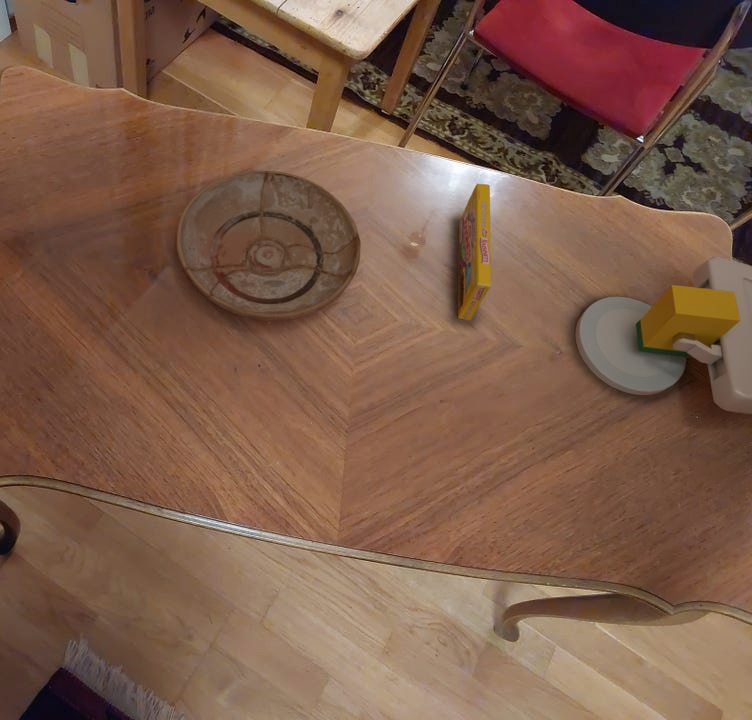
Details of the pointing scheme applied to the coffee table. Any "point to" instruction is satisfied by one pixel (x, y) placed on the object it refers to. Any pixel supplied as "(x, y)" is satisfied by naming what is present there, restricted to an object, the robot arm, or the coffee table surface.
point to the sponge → (687, 318)
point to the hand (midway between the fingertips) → (672, 321)
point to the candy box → (474, 252)
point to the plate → (623, 348)
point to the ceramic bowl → (268, 245)
